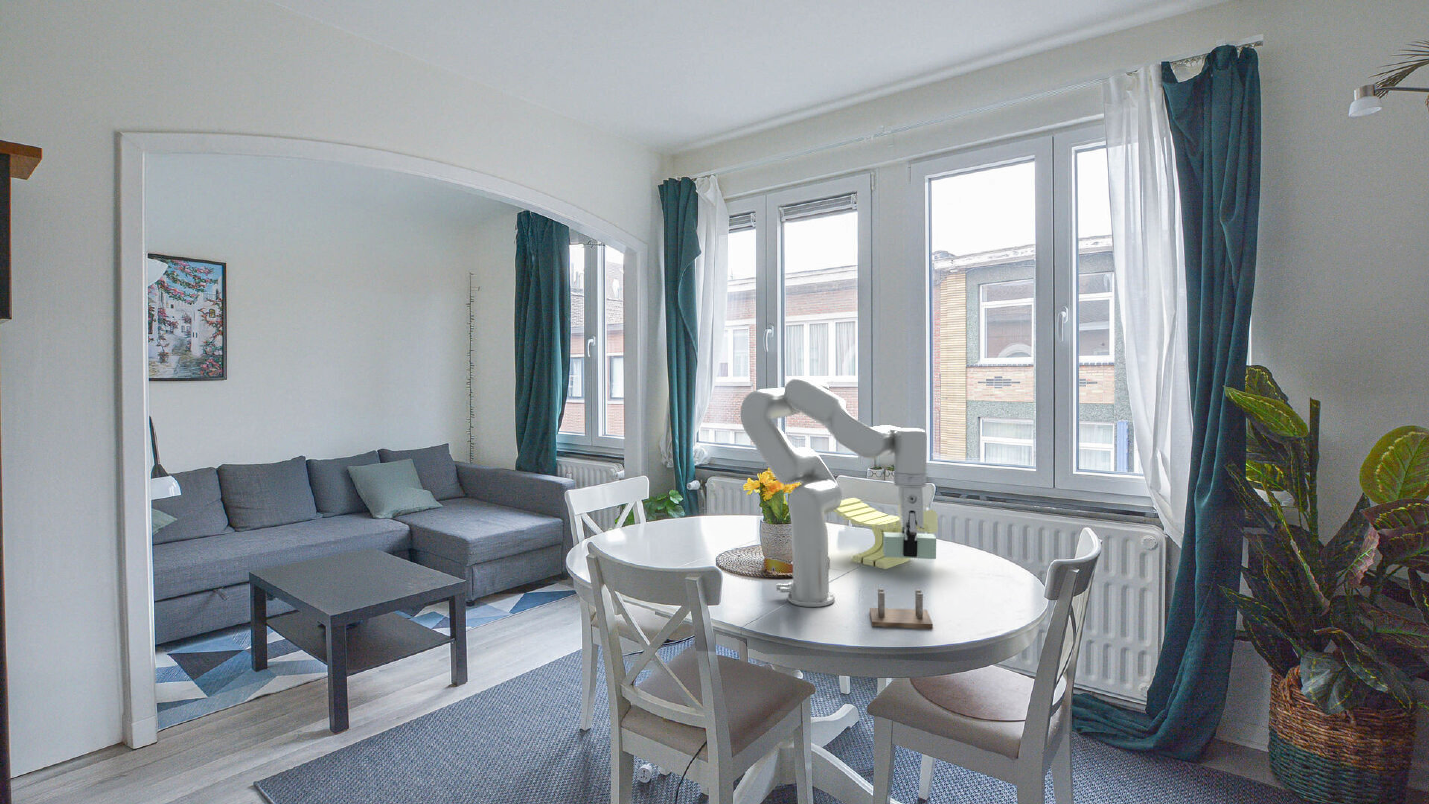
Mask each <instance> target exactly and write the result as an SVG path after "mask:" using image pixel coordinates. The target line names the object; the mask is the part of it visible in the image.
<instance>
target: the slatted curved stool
mask: <svg viewBox="0 0 1429 804" xmlns="http://www.w3.org/2000/svg"><path fill="white" fill-rule="evenodd" d="M832 513H836V516H838V517H843V520H844V521H849V522H850V525H857V526H862V527H868V528H871V530H872V533H873V535H874V544H873V545H872V546H871V547H870V548H869V549H867V550H865V551H863V552H861V553H859V554H855V555H853V556H852V559H851V561H850V562H854V563H859V564H863V565H866V566H869V567H875V568H880V569H883V570H884V569H885V570H886V569H890V568H893V567H895V566H899V565H901V564H903V563H907V562H909V561H910V560H911V558H896V557H885V556H884V553H883V532H892V533H901V530H902V525H901V523H900V521H899V516H896V515H889V514H887V513H884V512H883V511H882V512H881V511H879V510H877V509H875V508H874V507H872V506H871V507H870V505H869V504H867V503H865V502H863V501H862V499H858V498H857V497H850V498H846V499H842V502H841V504H840V506H839V507H838V508H837V509H836V510H835V511H833V512H832ZM938 525H939V523H938V514H937V511H936V510H934V509H929V510H925V511H924V510H923V528H922V529H920V527H918V525H917V531H920V532H922V531H924V533H926V534H934V533H938V530H939V529H938V528H939V527H938Z"/></svg>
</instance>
